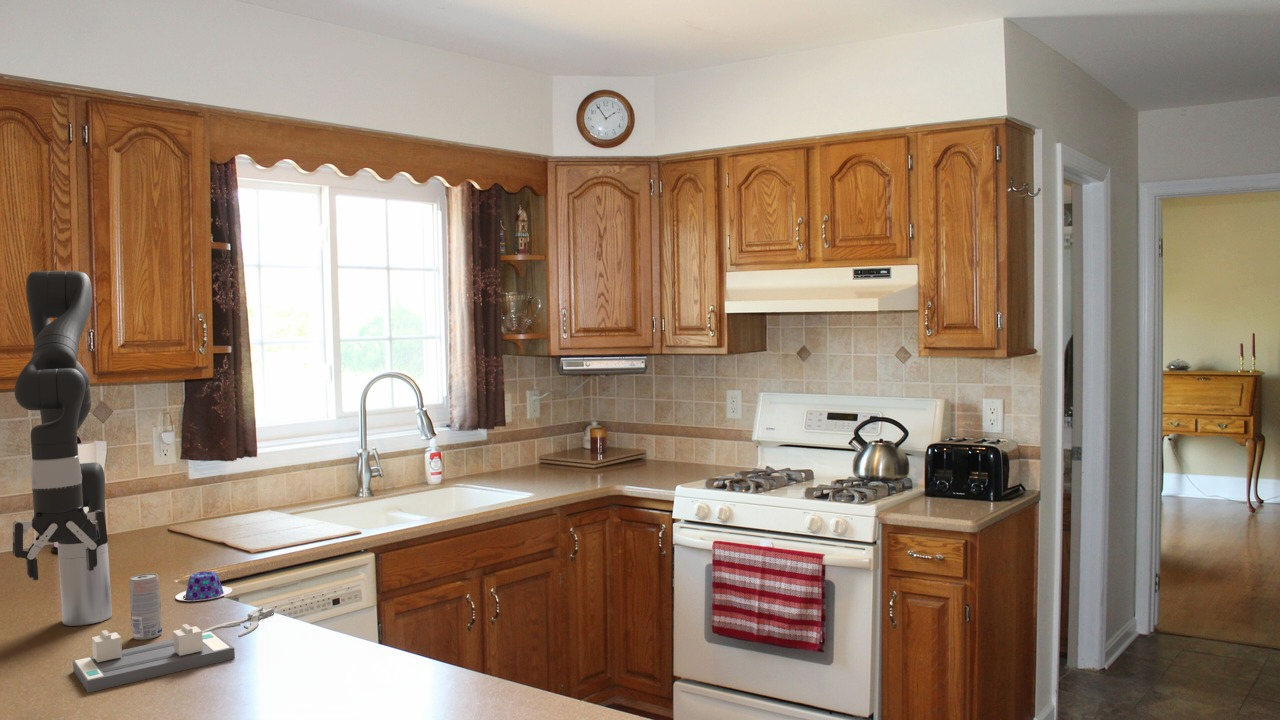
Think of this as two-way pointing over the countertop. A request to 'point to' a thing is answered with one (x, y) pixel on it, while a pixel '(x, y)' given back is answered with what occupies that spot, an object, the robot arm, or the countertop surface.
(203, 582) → the pudding
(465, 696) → the countertop surface
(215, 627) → the pliers
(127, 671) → the switch panel
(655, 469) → the countertop surface
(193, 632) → the tab
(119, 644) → the tab
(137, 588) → the energy drink
